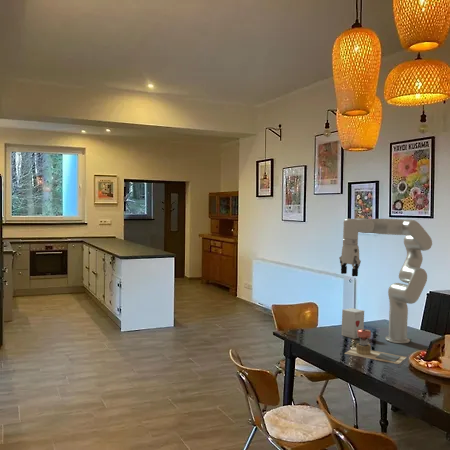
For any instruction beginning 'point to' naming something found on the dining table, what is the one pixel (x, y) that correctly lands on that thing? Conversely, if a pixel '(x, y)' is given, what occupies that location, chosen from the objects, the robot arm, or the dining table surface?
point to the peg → (363, 336)
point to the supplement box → (352, 322)
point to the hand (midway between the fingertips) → (349, 274)
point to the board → (375, 354)
